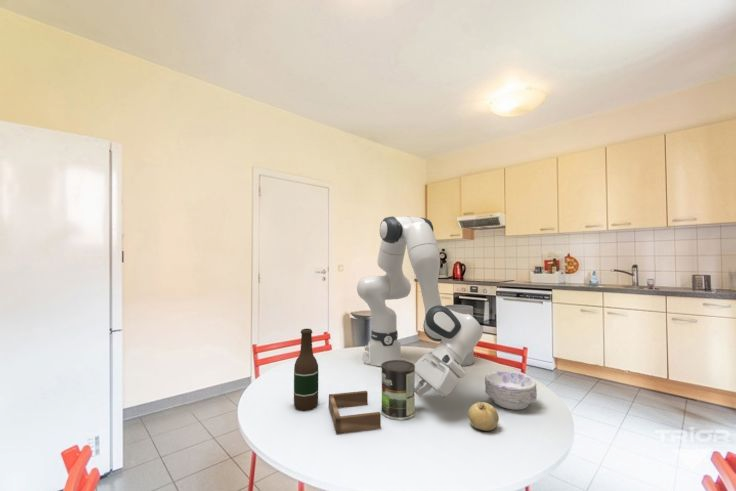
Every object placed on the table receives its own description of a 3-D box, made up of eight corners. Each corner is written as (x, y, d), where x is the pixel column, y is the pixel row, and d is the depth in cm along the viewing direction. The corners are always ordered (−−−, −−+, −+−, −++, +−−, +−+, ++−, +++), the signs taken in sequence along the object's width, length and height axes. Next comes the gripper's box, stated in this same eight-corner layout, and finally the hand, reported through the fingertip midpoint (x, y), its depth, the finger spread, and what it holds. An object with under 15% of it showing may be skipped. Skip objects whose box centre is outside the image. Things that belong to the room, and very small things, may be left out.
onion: (465, 420, 95) (464, 394, 95) (492, 420, 94) (492, 395, 95) (473, 434, 87) (472, 407, 87) (503, 435, 86) (503, 407, 87)
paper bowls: (485, 410, 101) (484, 383, 101) (485, 391, 115) (485, 368, 115) (540, 418, 95) (539, 390, 96) (533, 397, 110) (533, 373, 110)
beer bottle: (309, 398, 109) (309, 325, 110) (323, 405, 103) (323, 329, 105) (288, 405, 104) (289, 329, 105) (302, 414, 98) (303, 333, 99)
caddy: (328, 407, 102) (328, 394, 103) (366, 403, 105) (366, 390, 106) (336, 434, 87) (336, 418, 87) (380, 428, 89) (380, 413, 90)
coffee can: (390, 423, 92) (390, 372, 93) (375, 408, 102) (375, 362, 103) (422, 416, 97) (421, 367, 97) (404, 402, 106) (404, 358, 107)
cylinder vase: (441, 358, 154) (440, 304, 155) (466, 357, 155) (466, 304, 156) (450, 366, 141) (450, 308, 143) (478, 365, 143) (477, 308, 144)
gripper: (425, 344, 113) (398, 375, 111) (454, 362, 94) (422, 400, 91) (437, 356, 114) (410, 387, 111) (468, 376, 94) (437, 415, 92)
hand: (416, 393), depth 101 cm, fingers closed
